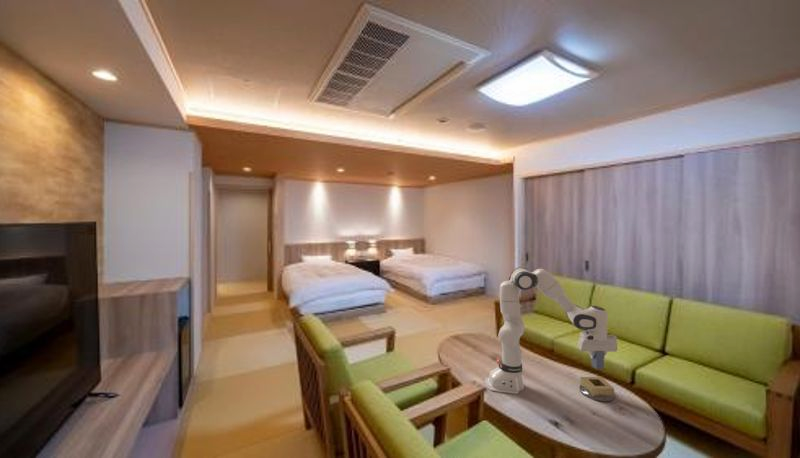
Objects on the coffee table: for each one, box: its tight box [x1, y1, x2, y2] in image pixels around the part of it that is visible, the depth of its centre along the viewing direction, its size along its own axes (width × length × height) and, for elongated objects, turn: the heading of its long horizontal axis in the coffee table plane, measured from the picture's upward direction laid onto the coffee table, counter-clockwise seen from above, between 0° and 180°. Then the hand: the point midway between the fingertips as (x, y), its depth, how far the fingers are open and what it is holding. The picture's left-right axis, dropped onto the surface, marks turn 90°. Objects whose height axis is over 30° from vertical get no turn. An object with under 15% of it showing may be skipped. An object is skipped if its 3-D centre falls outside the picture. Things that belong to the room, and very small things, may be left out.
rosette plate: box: [579, 376, 616, 403], centre depth 179 cm, size 17×17×6 cm
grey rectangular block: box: [590, 351, 605, 370], centre depth 178 cm, size 4×5×10 cm
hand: (597, 358), depth 178 cm, fingers closed on grey rectangular block, 4 cm apart
